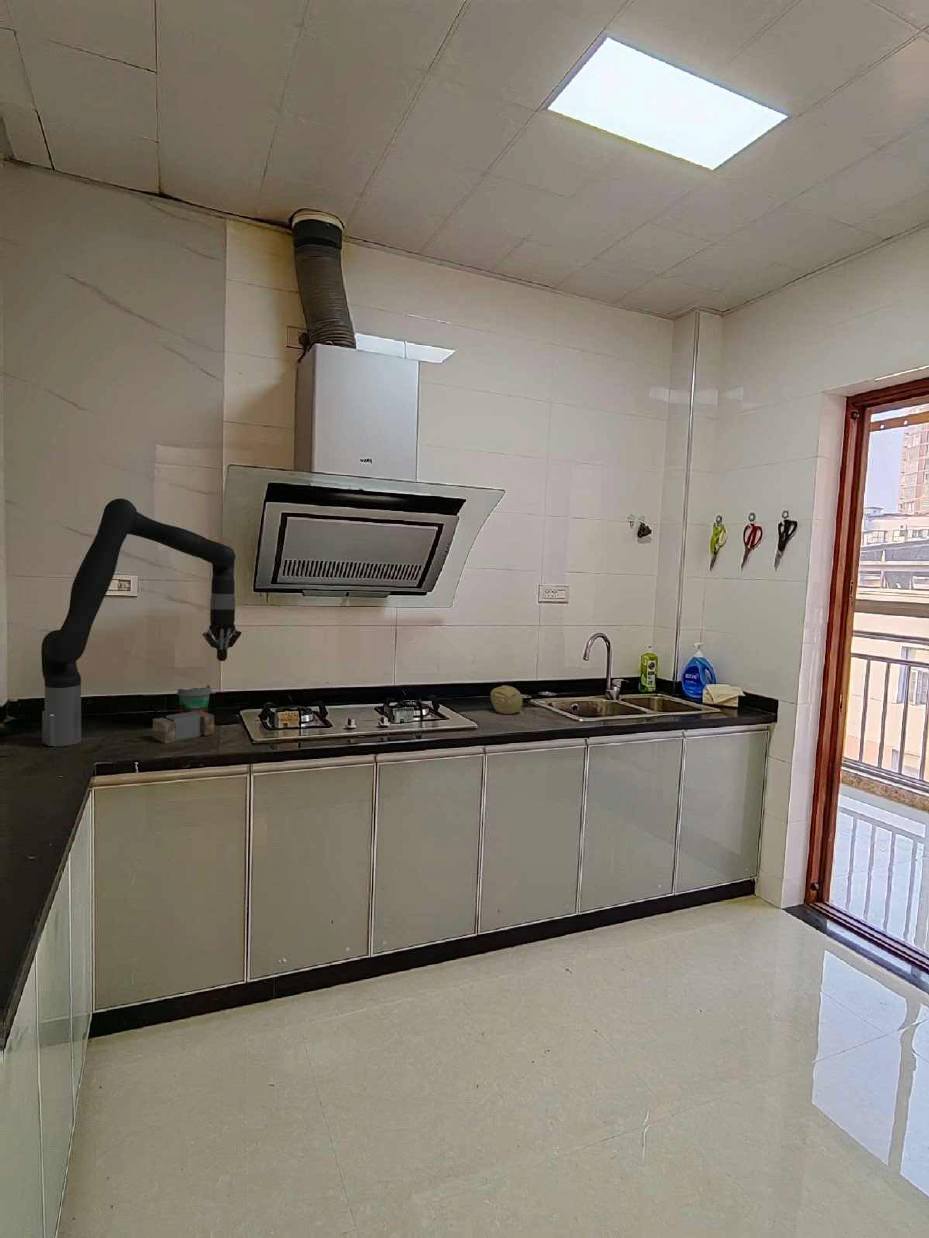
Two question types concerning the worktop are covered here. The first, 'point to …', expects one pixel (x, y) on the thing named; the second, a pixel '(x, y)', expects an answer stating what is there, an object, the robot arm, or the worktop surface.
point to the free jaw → (207, 723)
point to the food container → (194, 699)
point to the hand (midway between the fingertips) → (221, 660)
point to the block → (186, 724)
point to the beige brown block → (164, 730)
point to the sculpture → (506, 699)
